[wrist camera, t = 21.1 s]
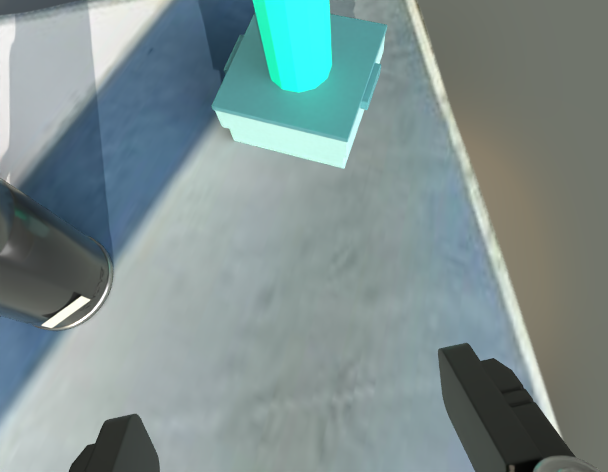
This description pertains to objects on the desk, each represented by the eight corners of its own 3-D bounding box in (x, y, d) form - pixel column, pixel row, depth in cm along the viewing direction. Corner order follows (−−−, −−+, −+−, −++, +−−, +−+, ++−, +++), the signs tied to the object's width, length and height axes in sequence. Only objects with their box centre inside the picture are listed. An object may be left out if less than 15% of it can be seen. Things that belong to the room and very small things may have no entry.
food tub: (222, 142, 49) (205, 104, 43) (265, 46, 53) (254, -1, 47) (353, 176, 46) (354, 140, 40) (387, 72, 50) (393, 25, 44)
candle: (310, 102, 42) (296, -10, 31) (255, 76, 44) (223, -39, 32) (344, 54, 44) (343, -69, 32) (289, 31, 45) (271, -94, 34)
